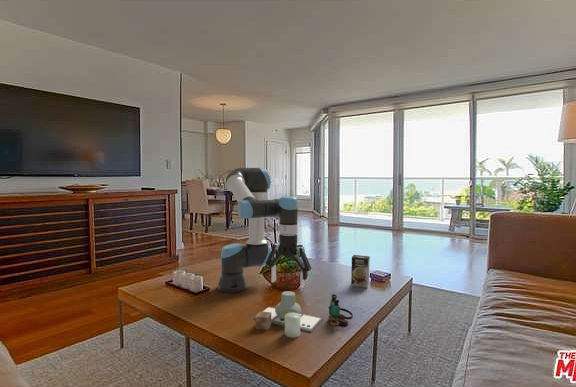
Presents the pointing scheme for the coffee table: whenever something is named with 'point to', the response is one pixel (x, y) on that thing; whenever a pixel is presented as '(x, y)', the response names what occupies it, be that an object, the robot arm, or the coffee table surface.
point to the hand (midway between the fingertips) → (287, 284)
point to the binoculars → (337, 312)
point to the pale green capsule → (292, 325)
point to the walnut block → (263, 320)
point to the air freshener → (287, 305)
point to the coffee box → (360, 271)
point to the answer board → (306, 321)
